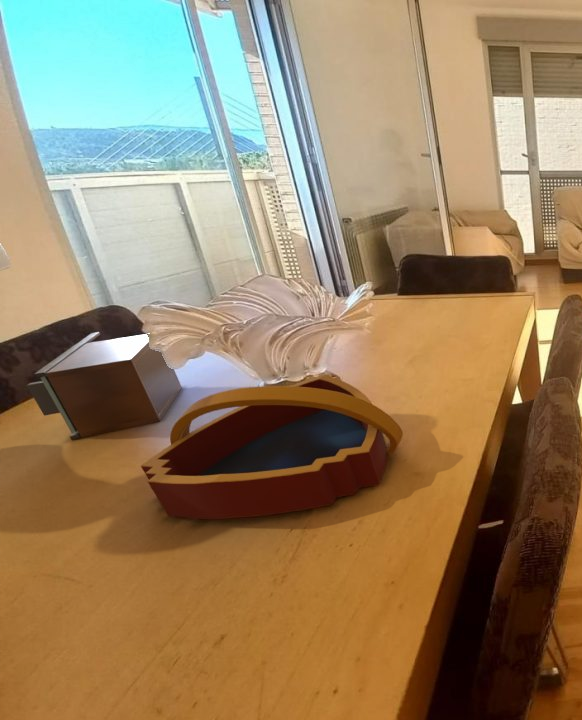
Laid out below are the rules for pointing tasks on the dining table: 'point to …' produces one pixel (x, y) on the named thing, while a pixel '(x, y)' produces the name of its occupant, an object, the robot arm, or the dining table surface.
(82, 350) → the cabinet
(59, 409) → the grey sliding lid
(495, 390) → the dining table surface
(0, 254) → the robot arm
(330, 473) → the decorative basket
